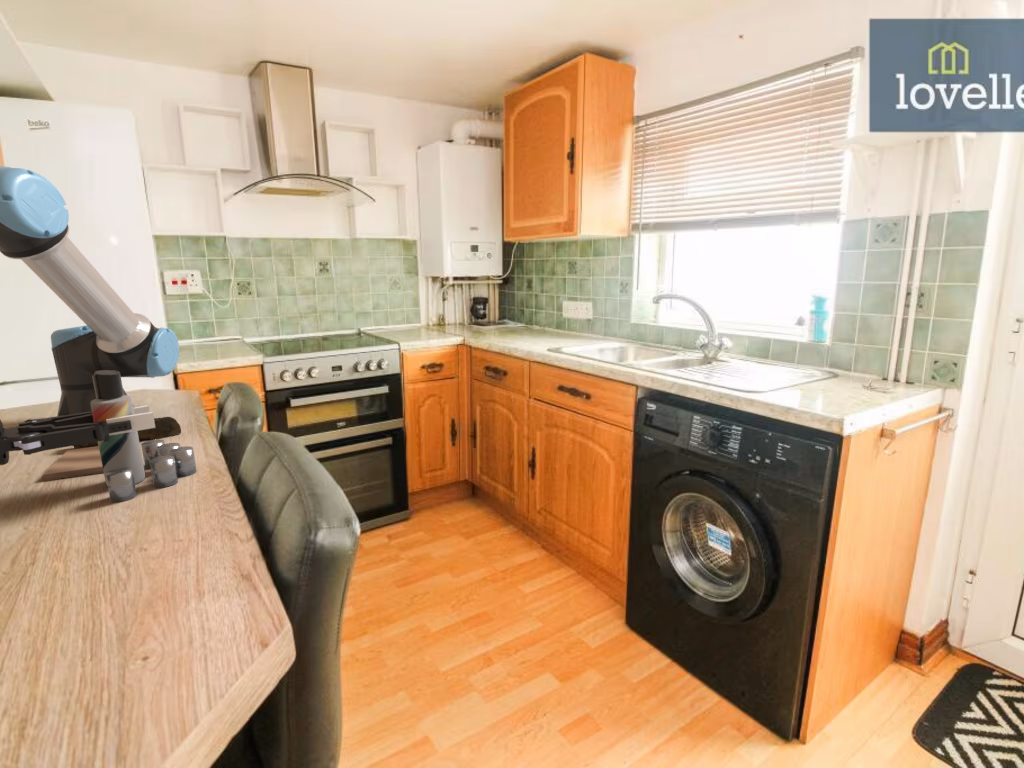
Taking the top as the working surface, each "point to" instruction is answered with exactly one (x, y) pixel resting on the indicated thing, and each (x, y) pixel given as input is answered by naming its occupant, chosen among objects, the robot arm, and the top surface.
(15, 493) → the top surface
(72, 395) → the robot arm
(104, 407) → the lotion bottle
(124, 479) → the steel spacers
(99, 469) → the brown wooden flat board
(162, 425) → the hand tool
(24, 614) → the top surface
